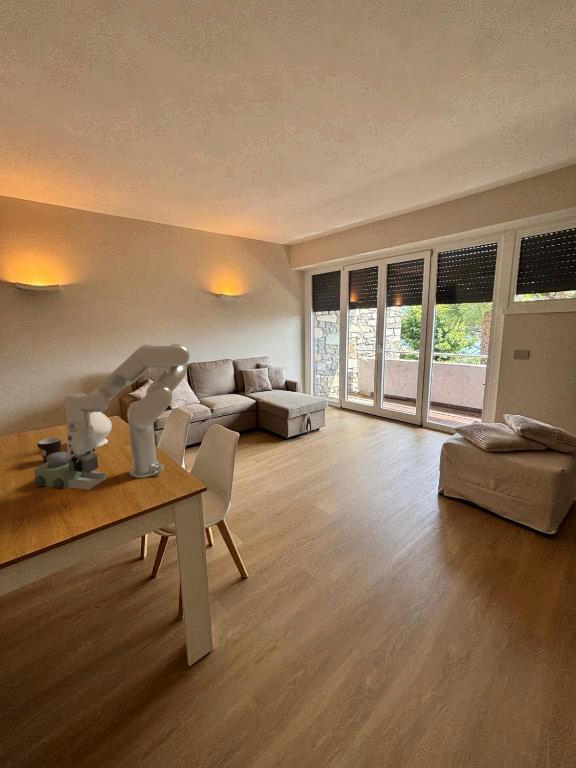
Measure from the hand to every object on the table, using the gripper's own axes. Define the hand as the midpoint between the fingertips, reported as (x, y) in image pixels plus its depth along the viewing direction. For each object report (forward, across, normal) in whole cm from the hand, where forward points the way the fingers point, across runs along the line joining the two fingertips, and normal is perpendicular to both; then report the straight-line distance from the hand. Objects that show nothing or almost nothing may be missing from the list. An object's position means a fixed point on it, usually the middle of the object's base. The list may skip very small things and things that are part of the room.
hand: (84, 467), depth 132 cm
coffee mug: (+7, +16, +35) cm, 39 cm away
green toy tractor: (+7, 0, +7) cm, 10 cm away
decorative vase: (+7, +38, +31) cm, 50 cm away
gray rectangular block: (+1, 0, 0) cm, 1 cm away
